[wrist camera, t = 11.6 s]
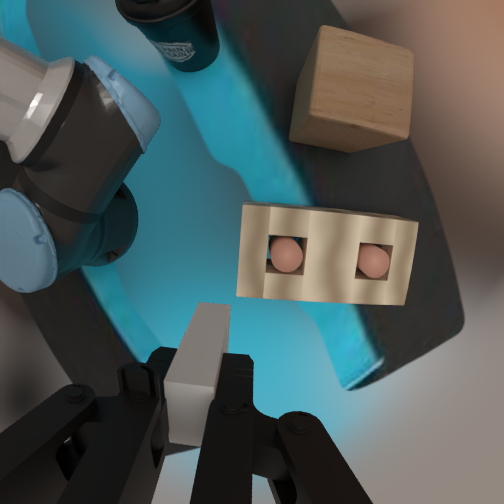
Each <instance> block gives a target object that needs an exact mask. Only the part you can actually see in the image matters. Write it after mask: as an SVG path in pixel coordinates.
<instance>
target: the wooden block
mask: <svg viewBox="0 0 504 504" xmlns="http://www.w3.org/2000/svg"><path fill="white" fill-rule="evenodd" d="M413 64H414V54H413V52H412V51H411V50H408V49H405V48H402V47H400V46H397V45H394V44H391V43H388V42H385V41H382V40H379V39H375V38H372V37H368V36H365V35H362V34H358V33H354V32H351V31H347V30H343V29H339V28H335V27H331V26H326V25H322V26H321V27H320V28H319V31H318V33H317V35H316V38H315V40H314V42H313V45H312V47H311V50H310V52H309V54H308V57H307V59H306V61H305V64H304V66H303V69H302V71H301V73H300V76H299V78H298V81H297V85H296V92H295V99H294V106H293V112H292V119H291V126H290V132H289V140H290V141H291V142H297V143H302V144H308V145H313V146H318V147H323V148H328V149H333V150H337V151H342V152H347V153H354V152H357V151H361V150H365V149H369V148H373V147H376V146H380V145H384V144H388V143H392V142H396V141H401V140H405V139H407V138H408V136H409V126H410V115H411V103H412V88H413Z"/></svg>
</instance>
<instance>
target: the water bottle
mask: <svg viewBox="0 0 504 504" xmlns="http://www.w3.org/2000/svg"><path fill="white" fill-rule="evenodd" d="M115 2H116V7H117V9H118V11H119V13H120V14H121V15H122V16H123V17H124V19H125V20H126V21H127V22H128V23H130V24H131V25H133V26H136V27H137V28H138V29H139V30H140V31H141V32H142V33H143V34H144V35H145V36H146V38H147V39H148V40H149V41H150V42H151V43H152V44H153V45H154V47H155V48H156V49H157V50H159V52H160V53H161V54H162V55H163V56H164V57H165V58H166V59H167V60H168V61H169V63H170V64H171V65H172V66H173V67H175V68H176V69H178V70H180V71H184V72H195V71H199V70H202V69H204V68H206V67H208V66H209V65H210V64H211V63H212V62H213V61H214V60H215V59H216V57H217V55H218V53H219V49H220V44H219V39H218V34H217V29H216V24H215V19H214V14H213V10H212V5H211V0H115Z"/></svg>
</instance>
